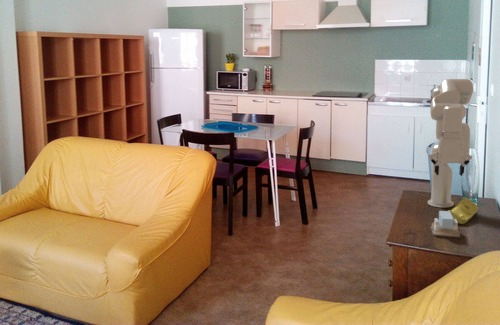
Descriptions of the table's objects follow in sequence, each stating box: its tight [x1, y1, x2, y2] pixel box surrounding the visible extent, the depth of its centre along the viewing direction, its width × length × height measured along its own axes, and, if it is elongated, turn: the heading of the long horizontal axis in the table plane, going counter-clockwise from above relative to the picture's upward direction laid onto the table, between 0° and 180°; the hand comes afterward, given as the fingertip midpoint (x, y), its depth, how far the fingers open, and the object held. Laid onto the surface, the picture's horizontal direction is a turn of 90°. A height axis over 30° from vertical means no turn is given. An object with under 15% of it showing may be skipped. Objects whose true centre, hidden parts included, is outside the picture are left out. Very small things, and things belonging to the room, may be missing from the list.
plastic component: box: [447, 197, 479, 225], centre depth 245 cm, size 20×7×10 cm
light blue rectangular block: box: [438, 210, 454, 228], centre depth 225 cm, size 4×11×4 cm, turn 167°
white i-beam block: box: [433, 217, 459, 231], centre depth 226 cm, size 5×9×5 cm, turn 77°
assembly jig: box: [430, 222, 461, 238], centre depth 226 cm, size 10×11×3 cm
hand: (448, 174), depth 220 cm, fingers open, 9 cm apart
